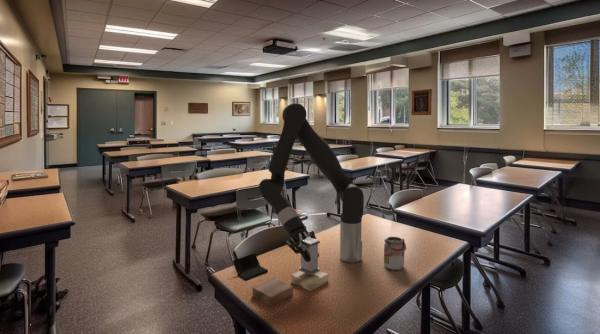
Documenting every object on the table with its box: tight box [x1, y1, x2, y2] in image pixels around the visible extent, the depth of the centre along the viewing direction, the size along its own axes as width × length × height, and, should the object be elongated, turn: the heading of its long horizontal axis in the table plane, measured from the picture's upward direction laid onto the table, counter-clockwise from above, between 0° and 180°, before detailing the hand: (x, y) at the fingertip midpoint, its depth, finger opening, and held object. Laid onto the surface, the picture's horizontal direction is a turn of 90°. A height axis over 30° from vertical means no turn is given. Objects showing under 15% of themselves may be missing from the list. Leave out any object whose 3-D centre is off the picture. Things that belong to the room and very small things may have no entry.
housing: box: [298, 237, 321, 275], centre depth 126 cm, size 6×5×12 cm
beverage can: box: [383, 236, 407, 271], centre depth 138 cm, size 9×8×12 cm
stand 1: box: [252, 277, 294, 307], centre depth 117 cm, size 10×10×3 cm
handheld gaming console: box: [232, 253, 268, 281], centre depth 135 cm, size 12×7×10 cm
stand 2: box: [290, 270, 330, 292], centre depth 127 cm, size 10×10×3 cm
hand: (313, 259), depth 124 cm, fingers closed on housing, 4 cm apart
